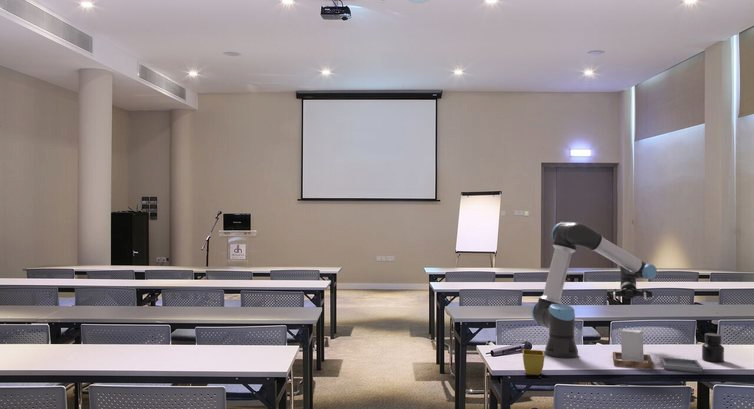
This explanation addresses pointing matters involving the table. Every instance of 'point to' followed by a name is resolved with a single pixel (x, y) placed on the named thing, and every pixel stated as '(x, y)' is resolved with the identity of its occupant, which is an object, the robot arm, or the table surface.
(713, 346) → the ink bottle
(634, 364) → the wooden tray
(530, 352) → the flower pot
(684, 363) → the tray
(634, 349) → the skincare box
